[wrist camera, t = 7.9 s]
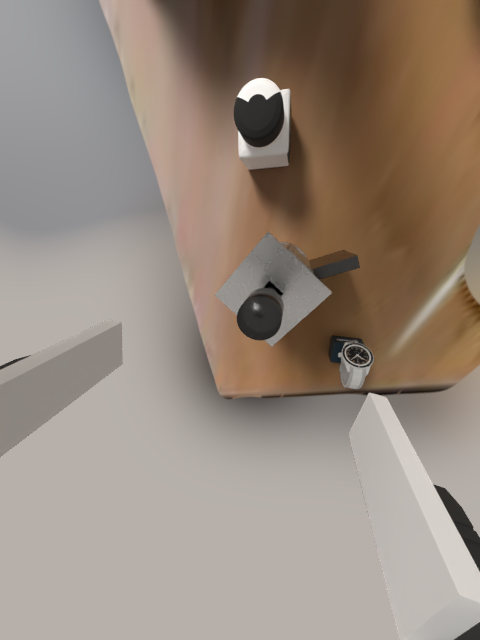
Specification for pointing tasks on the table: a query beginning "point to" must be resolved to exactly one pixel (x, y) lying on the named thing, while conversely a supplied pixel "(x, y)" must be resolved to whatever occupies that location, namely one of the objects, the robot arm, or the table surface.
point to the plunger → (261, 313)
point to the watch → (351, 360)
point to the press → (285, 279)
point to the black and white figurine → (263, 124)
